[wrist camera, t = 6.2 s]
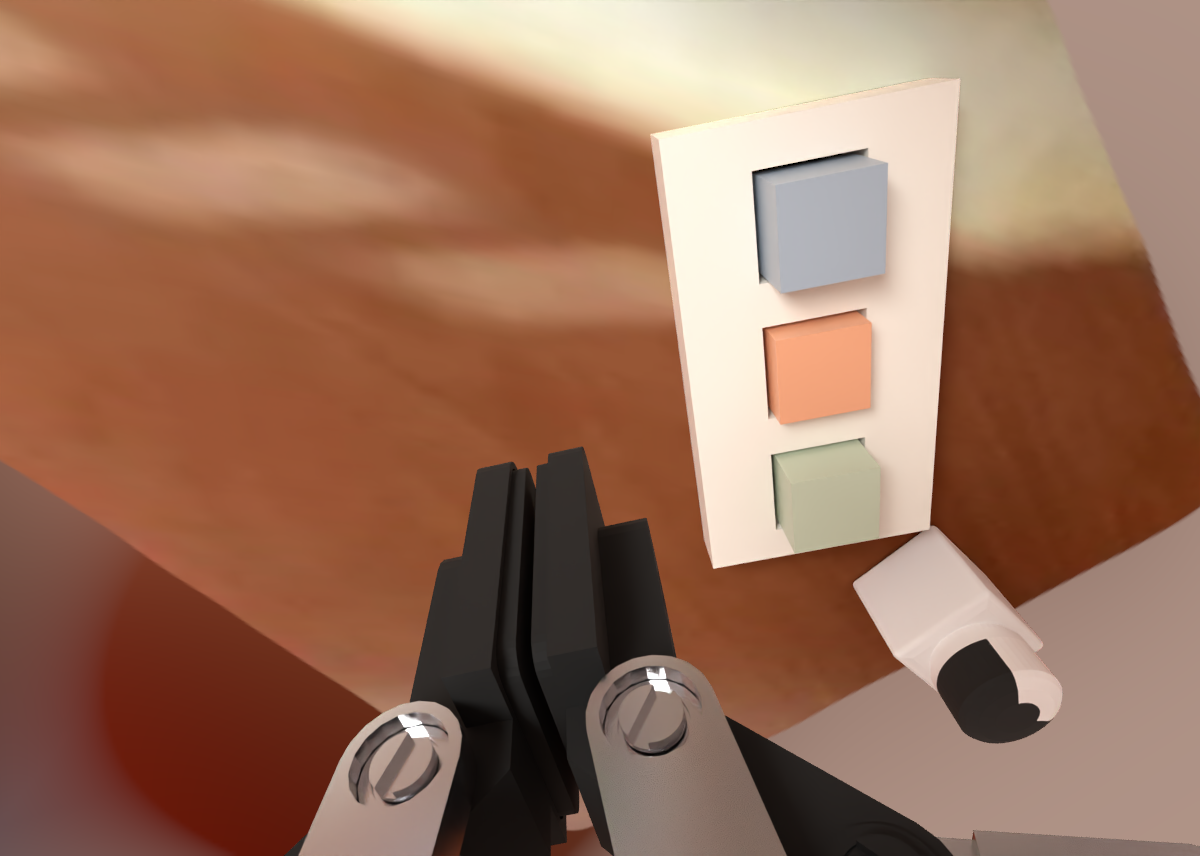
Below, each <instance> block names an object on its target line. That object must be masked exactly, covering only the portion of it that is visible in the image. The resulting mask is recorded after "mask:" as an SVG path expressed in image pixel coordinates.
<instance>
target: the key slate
mask: <svg viewBox="0 0 1200 856" xmlns="http://www.w3.org/2000/svg"><path fill="white" fill-rule="evenodd" d="M752 184H753V198H754V213H755V228H756V243H757V257H758V272H759V273H760V274H761V275H762V276H763V277H764V278H765V279H766V280H768V281H769V282H770V283H771V284H772V285H773V286H774V287H775V288H776V289H777V290H778V291H779V292H780V293H781V294H782V293H787V292H792V291H797V290H803V289H808V288H813V287H818V286H823V285H828V284H834V283H839V282H844V281H849V280H854V279H859V278H865V277H870V276H875V275H880V274H885V268H886V227H887V185H888V163H887V162H883V161H879V160H876V159H872V158H868V157H865V156H861V155H857V154H853V153H851V154H846V155H841V156H836V157H831V158H826V159H820V160H815V161H810V162H805V163H800V164H795V165H790V166H785V167H780V168H775V169H770V170H765V171H760V172H755V173H752Z"/></svg>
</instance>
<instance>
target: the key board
mask: <svg viewBox="0 0 1200 856" xmlns="http://www.w3.org/2000/svg"><path fill="white" fill-rule="evenodd" d="M959 93H960V79H959V78H926V79H921V80H916V81H911V82H906V83H901V84H896V85H891V86H886V87H881V88H877V89H872V90H867V91H862V92H857V93H852V94H847V95H842V96H837V97H832V98H827V99H822V100H817V101H812V102H807V103H802V104H797V105H792V106H788V107H783V108H778V109H773V110H768V111H763V112H758V113H753V114H748V115H743V116H738V117H733V118H728V119H723V120H718V121H713V122H708V123H703V124H699V125H694V126H689V127H684V128H679V129H674V130H669V131H664V132H659V133H654V134H650V135H651V143H652V150H653V158H654V165H655V173H656V180H657V188H658V195H659V203H660V210H661V218H662V225H663V233H664V241H665V248H666V256H667V263H668V271H669V278H670V286H671V293H672V301H673V308H674V316H675V323H676V331H677V338H678V346H679V353H680V361H681V368H682V376H683V383H684V391H685V398H686V406H687V413H688V421H689V429H690V436H691V444H692V451H693V459H694V466H695V474H696V481H697V489H698V496H699V504H700V511H701V519H702V526H703V534H704V541H705V544H706V547H707V550H708V553H709V556H710V559H711V562H712V565H713V569H714V568H720V567H725V566H731V565H736V564H742V563H747V562H753V561H758V560H764V559H769V558H775V557H780V556H786V555H791V554H797V553H794V551H793V549H792V547H791V545H790V543H789V541H788V539H787V537H786V535H785V533H784V531H783V529H782V527H781V525H780V523H779V521H778V519H777V517H776V515H775V508H774V493H773V478H772V464H771V455H772V454H778V453H783V452H788V451H794V450H799V449H804V448H810V447H815V446H821V445H826V444H831V443H837V442H842V441H847V440H853V439H858V440H859V442H860V443H861V444H862V445H863V446H864V448H865V449H866V450H867V451H868V452H869V454H870V455H871V456H872V457H873V458H874V460H875V461H876V462H877V463H878V465H879V466H880V467H881V476H880V517H879V538H878V539H880V538H885V537H891V536H896V535H902V534H907V533H913V532H918V531H924V530H929V529H930V514H931V500H932V485H933V471H934V456H935V442H936V427H937V413H938V398H939V384H940V369H941V355H942V340H943V326H944V311H945V297H946V282H947V267H948V253H949V238H950V224H951V209H952V195H953V180H954V166H955V151H956V137H957V122H958V108H959ZM840 153H844V155H846V154H851V153H853V154H857V155H861V156H865V157H868V158H872V159H876V160H879V161H883V162H887V163H888V185H887V227H886V268H885V274H880V275H875V276H870V277H865V278H859V279H854V280H849V281H844V282H839V283H834V284H828V285H823V286H818V287H813V288H808V289H803V290H797V291H792V292H787V293H782V294H781V293H780V292H779V291H778V290H777V289H776V288H775V287H774V286H773V285H772V284H771V283H770V282H769V281H768V280H766V279H765V278H764V277H763V276H762V275H761V274H760V273H759V272H758V257H757V243H756V228H755V213H754V198H753V184H752V171H755V170H760V169H765V168H770V167H775V166H780V165H785V164H790V163H795V162H800V161H805V160H810V159H815V158H820V157H825V156H830V155H835V154H840ZM853 310H856V311H857V312H859V313H860V314H861V315H863V316H864V317H865V318H866V319H868V320H869V321H870V322H871V323H872V339H871V407H870V408H868V409H862V410H857V411H851V412H846V413H841V414H835V415H830V416H825V417H819V418H814V419H809V420H803V421H798V422H793V423H787V424H782V425H780V423H779V422H778V420H777V419H776V417H775V416H774V414H773V412H772V411H771V409H770V408H769V406H768V405H767V390H766V375H765V360H764V346H763V331H762V328H765V327H770V326H775V325H780V324H786V323H791V322H796V321H801V320H806V319H812V318H817V317H822V316H827V315H833V314H838V313H843V312H848V311H853ZM873 540H874V539H873ZM867 541H869V540H867ZM861 542H863V541H861ZM856 543H858V542H856ZM850 544H852V543H850ZM845 545H847V544H845ZM839 546H841V545H839ZM834 547H836V546H834ZM828 548H830V547H828ZM823 549H824V548H823ZM817 550H819V549H817ZM812 551H813V550H812ZM806 552H808V551H806ZM801 553H802V552H801Z"/></svg>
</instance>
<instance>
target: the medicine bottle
mask: <svg viewBox="0 0 1200 856" xmlns="http://www.w3.org/2000/svg"><path fill="white" fill-rule="evenodd" d="M853 587H854V589H855V590H856V592H857V594H858V596H859V597H860V599H861V601H862V602H863V604H864V606H865V608H866V609H867V611H868V613H869V614H870V616H871V618H872V620H873V621H874V623H875V625H876V626H877V628H878V630H879V632H880V633H881V635H882V637H883V638H884V640H885V642H886V644H887V645H888V647H889V649H890V650H891V652H892V654H893V656H894V657H895V658H896V659H898V660H899V661H900V662H901V663H902V664H904V665H905V666H906V667H907V668H909V669H910V670H911V671H912V672H913V673H915V674H916V675H917V676H918V677H920V678H921V679H922V680H923V681H925V682H926V683H927V684H928V685H929V686H931V687H932V688H933V689H935V690H936V691H937V692H938V693H939V694H940V696H941V697H942V699H943V700H944V702H945V704H946V705H947V707H948V708H949V710H950V712H951V713H952V715H953V716H954V718H955V720H956V721H957V723H958V724H959V726H960V728H961V729H962V731H963V732H964V733H965V734H967V735H968V736H970V737H972V738H974V739H977V740H979V741H983V742H987V743H1006V742H1012V741H1016V740H1019V739H1022V738H1025V737H1027V736H1029V735H1031V734H1034V733H1035V732H1037V731H1039V730H1040V729H1042V728H1043V727H1045V726H1046V725H1047V724H1048V723H1049V722H1050V721H1051V720H1052V719H1053V718H1054V717H1055V715H1056V714H1057V712H1058V711H1059V709H1060V706H1061V703H1062V695H1063V692H1062V687H1061V684H1060V683H1059V681H1058V680H1057V678H1056V677H1055V676H1054V675H1053V674H1052V672H1051V671H1050V670H1049V669H1048V668H1047V666H1046V665H1045V664H1044V663H1043V662H1042V660H1041V659H1040V658H1039V657H1038V656H1037V654H1036V653H1035V652H1037V651H1038V650H1040V649H1041V648H1042V647H1043V642H1042V640H1041V639H1040V638H1039V637H1038V636H1037V634H1036V633H1035V632H1034V631H1033V630H1032V629H1031V627H1029V625H1028V624H1027V623H1026V622H1025V620H1024V619H1023V618H1022V617H1021V616H1020V615H1019V613H1018V612H1017V611H1016V610H1015V609H1014V608H1013V606H1012V605H1011V604H1010V603H1009V602H1008V601H1007V599H1006V598H1005V597H1004V596H1003V595H1002V594H1001V592H1000V591H999V590H998V589H997V588H996V587H995V586H994V584H993V583H992V582H991V581H990V580H989V579H988V577H987V576H986V575H985V574H984V573H983V572H982V571H981V570H980V569H979V568H978V567H977V566H976V565H975V564H974V563H973V562H972V561H971V560H970V559H969V558H968V557H967V556H966V555H965V554H964V553H963V552H962V551H961V550H960V549H959V548H957V547H956V546H955V545H954V544H953V543H952V542H951V541H950V540H949V539H948V538H947V537H946V536H945V535H944V534H943V533H942V532H941V531H940V530H939V529H938V528H937V527H935V526H930V529H929V530H924V531H922V532H921V533H919V534H918V535H917V536H915V537H914V538H913V539H911V540H910V541H909V542H907V543H906V544H905V545H903V546H902V547H900V548H899V549H898V550H896V551H895V552H894V553H892V554H891V555H890V556H888V557H887V558H886V559H884V560H883V561H882V562H880V563H879V564H877V565H876V566H875V567H873V568H872V569H871V570H869V571H868V572H867V573H865V574H864V575H863V576H861V577H860V578H858V579H857V580H856V581H855V582H854V583H853Z"/></svg>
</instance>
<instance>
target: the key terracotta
mask: <svg viewBox="0 0 1200 856" xmlns="http://www.w3.org/2000/svg"><path fill="white" fill-rule="evenodd" d="M762 331H763V346H764V360H765V375H766V390H767V405H768V406H769V408H770V409H771V411H772V412H773V414H774V416H775V417H776V419H777V420H778V422H779V423H780V425H782V424H787V423H793V422H798V421H803V420H809V419H814V418H819V417H825V416H830V415H835V414H841V413H846V412H851V411H857V410H862V409H868V408H870V407H871V339H872V323H871V322H870V321H869V320H868V319H866V318H865V317H864V316H863V315H861V314H860V313H859V312H857V311H856V310H853V311H848V312H843V313H838V314H833V315H827V316H822V317H817V318H812V319H806V320H801V321H796V322H791V323H786V324H780V325H775V326H770V327H765V328H762Z"/></svg>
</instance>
